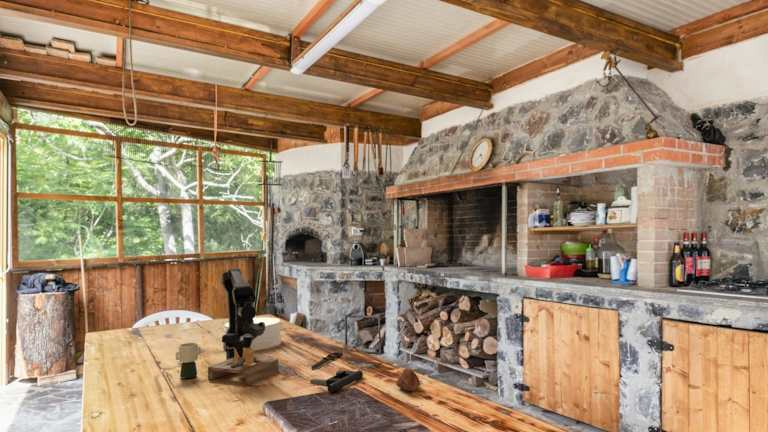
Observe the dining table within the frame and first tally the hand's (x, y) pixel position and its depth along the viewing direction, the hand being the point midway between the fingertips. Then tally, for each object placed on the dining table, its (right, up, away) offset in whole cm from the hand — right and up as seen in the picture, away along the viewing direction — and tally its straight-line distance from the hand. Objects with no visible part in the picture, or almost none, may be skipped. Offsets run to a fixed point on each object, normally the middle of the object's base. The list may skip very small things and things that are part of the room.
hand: (243, 356), depth 185 cm
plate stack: (-11, -11, +54) cm, 56 cm away
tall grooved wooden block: (0, -3, 0) cm, 3 cm away
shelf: (0, -8, 0) cm, 8 cm away
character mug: (-22, -8, -1) cm, 23 cm away
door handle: (+38, -7, -13) cm, 40 cm away
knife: (+31, -8, +16) cm, 36 cm away
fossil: (+65, -5, -23) cm, 69 cm away
